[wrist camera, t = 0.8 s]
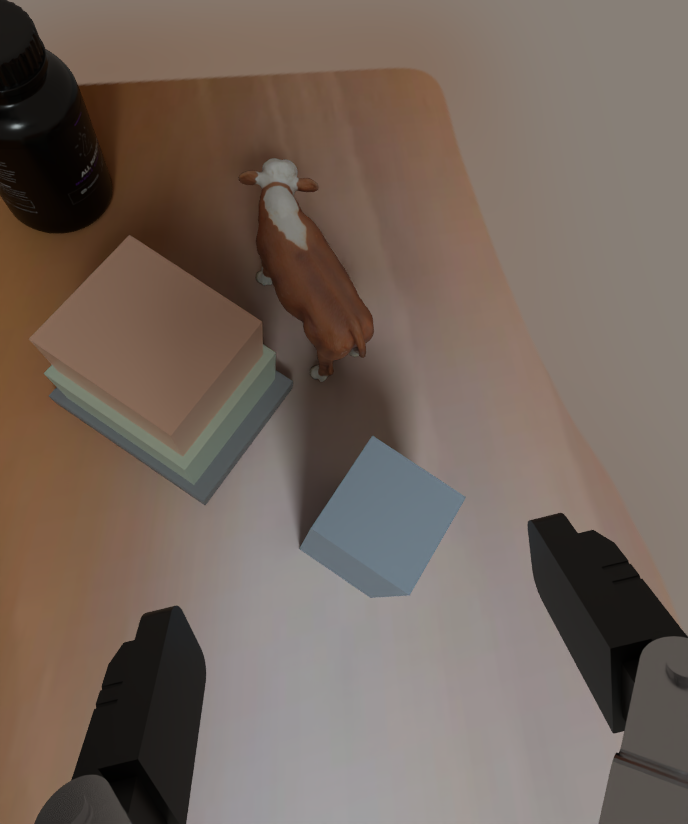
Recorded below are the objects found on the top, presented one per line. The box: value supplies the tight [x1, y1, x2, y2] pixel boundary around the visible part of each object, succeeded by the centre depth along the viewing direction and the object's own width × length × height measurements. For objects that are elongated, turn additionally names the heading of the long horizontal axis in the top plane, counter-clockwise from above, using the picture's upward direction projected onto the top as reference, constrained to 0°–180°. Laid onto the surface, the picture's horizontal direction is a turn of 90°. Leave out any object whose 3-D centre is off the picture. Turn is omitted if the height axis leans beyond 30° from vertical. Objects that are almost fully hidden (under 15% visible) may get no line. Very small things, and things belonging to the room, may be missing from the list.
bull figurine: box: [238, 158, 374, 382], centre depth 36 cm, size 4×13×8 cm, turn 24°
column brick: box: [300, 436, 466, 598], centre depth 31 cm, size 5×5×10 cm
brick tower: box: [29, 235, 293, 505], centre depth 32 cm, size 11×9×9 cm
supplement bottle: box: [0, 0, 112, 233], centre depth 34 cm, size 7×7×12 cm
